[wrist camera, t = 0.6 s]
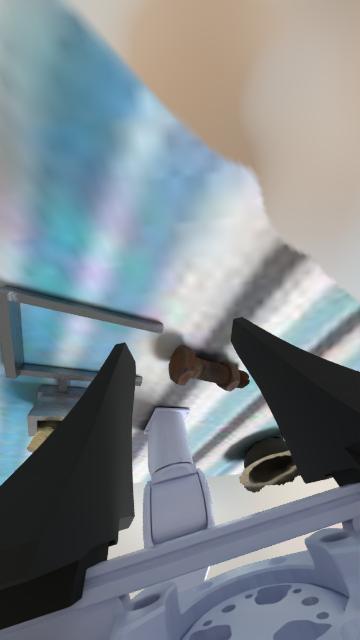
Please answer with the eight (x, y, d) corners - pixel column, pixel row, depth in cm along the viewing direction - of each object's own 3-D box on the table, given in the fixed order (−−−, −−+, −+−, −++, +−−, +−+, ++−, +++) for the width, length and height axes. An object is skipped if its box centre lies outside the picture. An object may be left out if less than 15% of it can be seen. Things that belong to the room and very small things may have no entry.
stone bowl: (266, 459, 64) (282, 491, 56) (218, 458, 58) (227, 494, 50) (307, 430, 54) (333, 463, 46) (254, 425, 47) (272, 463, 39)
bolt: (230, 367, 32) (170, 349, 25) (251, 361, 28) (187, 339, 22) (234, 397, 29) (166, 386, 22) (258, 396, 25) (185, 381, 19)
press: (128, 411, 29) (125, 435, 26) (19, 407, 24) (-4, 438, 20) (163, 324, 21) (166, 342, 17) (6, 285, 15) (-38, 301, 12)
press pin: (60, 429, 22) (50, 452, 20) (40, 429, 21) (27, 453, 19) (61, 420, 21) (50, 443, 19) (40, 420, 20) (26, 443, 18)
